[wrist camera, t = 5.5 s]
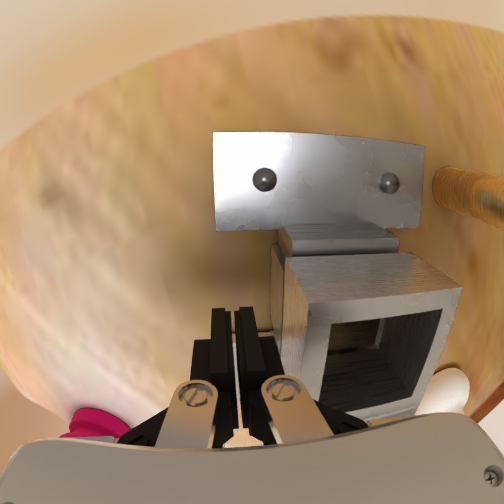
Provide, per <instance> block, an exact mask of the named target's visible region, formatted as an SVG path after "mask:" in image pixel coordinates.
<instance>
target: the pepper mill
mask: <svg viewBox="0 0 504 504" xmlns="http://www.w3.org/2000/svg"><path fill="white" fill-rule="evenodd" d="M69 430H70V433H66V434H64V435H61V436H60V437H59V438H65V437H101V436H113V437H114V439H117V438H120V437H121V436H122V435H123V434H125V433H126V432H128V431H129V430H131V429H130V428H129V427H128V426H127V425H126V424H125V423H124V422H122V421H121V420H120V419H118V418H117V417H115V416H113V415H111V414H109V413H106V412H104V411H101V410H97V409H92V408H83V409H80V410H78V411H76V412H75V414H74V416H73V418H72V421H71V423H70V425H69Z"/></svg>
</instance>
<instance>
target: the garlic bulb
mask: <svg viewBox="0 0 504 504" xmlns="http://www.w3.org/2000/svg"><path fill="white" fill-rule="evenodd" d="M469 391H470V386H469V381H468V378H467V376H466V375H465V374H464V373H463V372H462V371H461V370H459V369H457V368H447V369H444V370H442V371H440V372H438V373H436V374H434V375H433V376H432V378H431V381H430V383H429V385H428V387H427V390H426V392H425V394H424V396H423V398H422V400H421V403H420V405H419V407H418V409H417V411H416V413H415V415H421V414H428V413H436V412H453V413H460V414H463V415H465V413H464V410H463V407H464V405H465V404H466V402H467V399H468V396H469Z"/></svg>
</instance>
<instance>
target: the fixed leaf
mask: <svg viewBox="0 0 504 504" xmlns="http://www.w3.org/2000/svg"><path fill="white" fill-rule="evenodd" d="M213 158H214V195H215V223H216V231H242V230H278V244H271V303H270V317H271V321H272V325H273V329H274V333H275V337H276V341H277V345H278V349H279V353H280V355H281V347H282V328H283V306H284V280H285V257H307V256H334V255H361V254H386V253H398V247H399V240H400V238H399V237H397V236H395V235H393V234H392V233H390V232H388V231H386V230H385V229H383V228H419V222H420V213H421V202H422V190H423V175H424V146H420V145H414V144H408V143H401V142H394V141H387V140H379V139H370V138H361V137H351V136H340V135H327V134H311V133H286V132H226V133H213ZM385 319H386V318H378V319H370V320H362V321H353V322H344V323H335V324H331V330H330V337H329V343H328V350H327V355H334V354H342V353H349V352H356V351H363V350H369V349H376V348H379V345H380V341H381V337H382V332H383V328H384V324H385Z"/></svg>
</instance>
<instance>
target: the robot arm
mask: <svg viewBox="0 0 504 504" xmlns="http://www.w3.org/2000/svg"><path fill="white" fill-rule="evenodd" d="M234 316H235V338H236V357H237V372H238V382H239V393H240V403H241V413H242V423H243V428H249V435H250V436H253V437H255V438H256V439H258V440H260V443H261V446H251V447H236V448H225V443H226V442H227V441H228V440H229V439H230V438H232V437H234V435H233V429H239V424H238V410H237V395H236V380H235V366H234V353H233V339H232V325H231V311H225V308H212V320H211V339H203V340H194V347H193V356H192V365H191V375H190V381H186V382H184V383H182V384H181V385H179V386H178V387H177V388H176V390H175V391H174V394H173V397H172V399H171V402H170V405H169V407H168V408H166V409H164V410H163V411H161V412H160V413H158V414H156V415H155V416H153V417H151V418H150V419H148V420H146V421H145V422H143V423H141V424H140V425H138V426H136V427H135V428H133V429H131V430H129V431H128V432H126V433H125V434H123V435H122V436H121V437H120V438H117V439H114V437H113V436H101V437H65V438H44V439H36V440H32V441H29V442H26V443H25V444H22V445H21V446H20V447H19V448H18V449H17V450H16V451H15V452H14V453H13V455H12V456H11V458H10V460H9V461H8V463H7V464H6V466H5V468H4V470H3V472H2V474H1V476H0V504H504V456H503V454H502V453H501V452H500V450H499V449H498V448H497V446H496V445H495V444H494V442H493V441H492V440H491V438H490V437H489V436H488V435H487V434H486V432H485V431H484V430H483V429H482V428H481V427H480V426H479V425H478V424H477V423H476V422H475V421H473V420H472V419H471V418H469V417H468V416H466V415H463V414H460V413H453V412H436V413H428V414H421V415H415V416H406V417H397V418H386V419H372V420H371V421H370V423H365V422H364V421H363V420H361V419H359V418H357V417H355V416H352V415H349V414H347V413H344V412H342V411H340V410H337V409H335V408H332V407H330V406H328V405H325V404H323V403H321V402H318V401H316V400H314V399H312V397H311V395H310V394H309V392H308V390H307V389H306V387H305V385H304V384H303V383H302V382H301V380H299V379H297V378H296V377H293V376H289V375H285V372H284V369H283V365H282V362H281V358H280V355H279V351H278V348H277V344H276V341H275V338H274V336H263V337H259V335H258V331H257V326H256V321H255V316H254V311H253V307H239V311H234Z"/></svg>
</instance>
